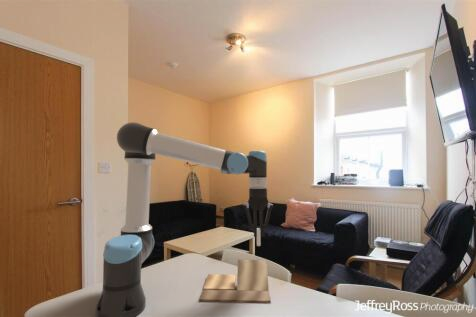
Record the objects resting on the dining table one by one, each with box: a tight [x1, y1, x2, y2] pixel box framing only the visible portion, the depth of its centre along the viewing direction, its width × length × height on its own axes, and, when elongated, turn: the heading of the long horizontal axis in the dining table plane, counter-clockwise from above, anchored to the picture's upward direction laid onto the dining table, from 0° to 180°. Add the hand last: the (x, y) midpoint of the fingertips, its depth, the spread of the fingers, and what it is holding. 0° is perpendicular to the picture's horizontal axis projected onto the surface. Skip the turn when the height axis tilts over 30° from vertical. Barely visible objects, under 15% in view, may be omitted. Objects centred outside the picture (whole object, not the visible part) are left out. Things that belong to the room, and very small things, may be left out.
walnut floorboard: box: [199, 289, 272, 304], centre depth 89 cm, size 25×8×2 cm, turn 88°
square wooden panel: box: [236, 259, 270, 292], centre depth 98 cm, size 12×12×2 cm
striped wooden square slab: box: [202, 273, 237, 291], centre depth 100 cm, size 12×12×2 cm
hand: (258, 244), depth 101 cm, fingers closed
